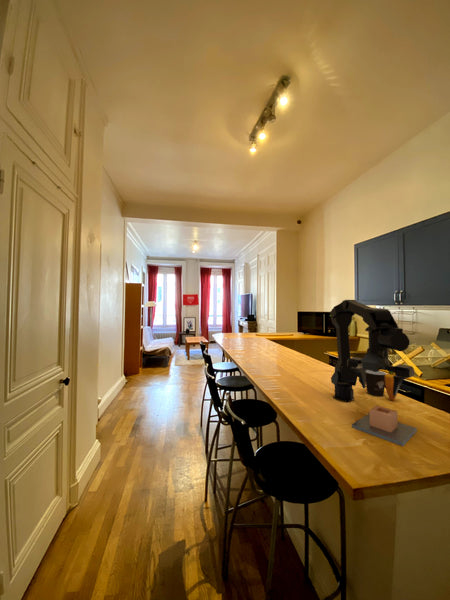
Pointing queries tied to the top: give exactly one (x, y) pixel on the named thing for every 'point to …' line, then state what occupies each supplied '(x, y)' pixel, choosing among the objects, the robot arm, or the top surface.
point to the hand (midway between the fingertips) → (378, 391)
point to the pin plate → (396, 436)
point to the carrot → (390, 384)
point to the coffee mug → (375, 383)
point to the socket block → (383, 418)
